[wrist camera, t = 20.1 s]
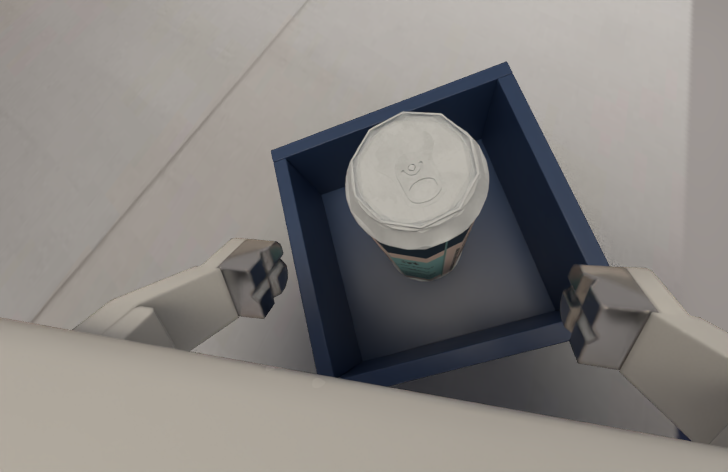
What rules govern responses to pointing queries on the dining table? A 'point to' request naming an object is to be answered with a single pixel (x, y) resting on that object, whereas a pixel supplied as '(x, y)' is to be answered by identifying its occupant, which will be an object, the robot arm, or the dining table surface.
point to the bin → (475, 266)
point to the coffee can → (418, 191)
